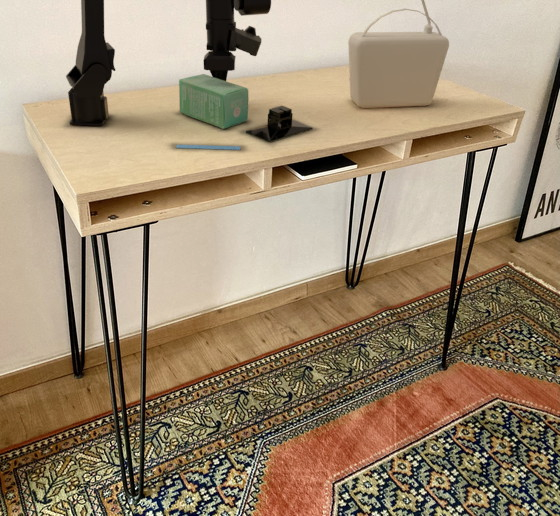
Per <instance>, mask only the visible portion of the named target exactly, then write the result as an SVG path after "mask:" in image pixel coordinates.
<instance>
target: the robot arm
mask: <svg viewBox="0 0 560 516" xmlns="http://www.w3.org/2000/svg"><path fill="white" fill-rule="evenodd" d="M271 7H272V0H205V19H206V21H205V30H206V44H205V45H206V46H205V47H206V51H208V52H206V53H205V54H204V57H203V60H202V61H203V71H209V73H210V74H211V75H210V76H211V77H214V78H217V79H220V80H223V81H226V82H227V79H228V73H229V72H232V71H235V70H236V55H234V53H233V52H236V51H237V50H240V51H242V52H245V53H247V54H249V55H250V56H253V57H257V55H258V53H259V50H260V47H261V45H262V37H261V36H260V35H257V30H256V27H254V26H251V25H248V26H247V27H246V28H245V29H243V28H241V29H240V28H239V27H237V21H235V11H236V12H238V14H239V15H240V16H241V17H242V16H243V17H244V16H258V15H268V14H269V13H270V12H271V9H272V8H271ZM80 10H81V11H80V13H81V15H80V16H81V35H80V36H79V37H80V38H79V41H78V44H77V50H76V56H75V64H74V66H73V67H72V68H71V69H70V70H69V71H68V73H67V74H66V75H65V78H66V80H67V82H68V84H69V86H70V87H71V88H70V89H69V90H68V92H67V94H68V96H67V97H68V101H69V102H68V103H69V107H70V108H69V110H70V116H71V120H70V121H69V122H68V123H69V125H70V126H92V127H96V126H97V127H102V126H104V124H105V122H106V121H107V120H108V118H109V115H110V114H109V104H108V97H107V96H105V91H104V88H105V85H106V84H107V83H108V82H109V81H110V80H111V79H112V75H113V72H116V68H115V61H114V59H115V53H116V49H115V48H114V47H113V46H112V45H111V44H110V43H109V42H108V41H107V42H106V36H105V0H80Z"/></svg>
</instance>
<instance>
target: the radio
mask: <svg viewBox="0 0 560 516" xmlns="http://www.w3.org/2000/svg"><path fill="white" fill-rule="evenodd" d="M420 2H421V4H422V8H423V10H424V13H423V12H421V11H419V10H416V9H412V8H411V9H410V8H398V9H393V10H390V11H388V12H386V13H383V14H382V15H379V16H378V17H377V18H376V19H374V20H373V21H372V22H371V23H370V24H369V25H367V27H366V28H365V29H364V30H363V32H360V31H358V32H353V33H352V34H351V35H350V36H349V38H348V42H347V43H348V44H347V45H348V69H349V96H350V99H351V101H353V103H354V104H355V105H357V106H358V107H359V108H361V109H375V108H377V109H378V108H379V109H380V108H396V107H397V108H398V107H399V108H400V107H403V108H404V107H426V106H430V105H431V104H432V102H433V100H434V96H435V93H436V90H437V87H438V84H439V81H440V77H441V74H442V70H443V67H444V64H445V61H446V58H447V54H448V51H449V49H450V41H449V38H447V36H444V35H443V34H442V32H441V29H440V28H439V26H438V24H437V23H436V22H435V21H434V20H433V19H432V18H431V17H430V15H429V12H428V9H427V5H426V1H425V0H420ZM401 11H411V12H417V13H419V14H422V15H424V16H425V18H426V21H427V24H426V25H424V27H423V31H369V30H370V28H371V27H372V26H373V25H374V24H376V23H377V22H378V21H379V20H381V19H382V18H384V17H386V16H388V15H390V14H393V13H396V12H401ZM431 23H432V24H433V25H434V26H435V28H436V30H437V32H436V31H433V29H434V28H433V26H432V24H431Z"/></svg>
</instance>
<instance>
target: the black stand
mask: <svg viewBox="0 0 560 516" xmlns="http://www.w3.org/2000/svg"><path fill="white" fill-rule="evenodd" d="M292 111H293V109H292V108H290V107H287V106H284V105H279V106H275V107H271V108H268V114H267V124H265V125H262V126H258V127H255V128H251V129H248V130H245V134H247V135H250V136H252V137H254V138H257V139H259V140H262V141H264V142H266V143H269V144H271V143H273V142H276V141H279V140H283V139H286V138H289V137H292V136H295V135H299V134H302V133H306V132H308V131H312V130H313V127H312V126H311V125H307V124H305V123H302V122H299V121H297V120H294V119H293V114H294V113H292Z"/></svg>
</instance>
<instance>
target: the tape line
mask: <svg viewBox="0 0 560 516" xmlns="http://www.w3.org/2000/svg"><path fill="white" fill-rule="evenodd" d="M175 148H176V149H190V150H191V149H195V150H224V151H225V150H227V151H241V146H239V145H237V146H234V145H233V146H232V145H203V144H176V147H175Z"/></svg>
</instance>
